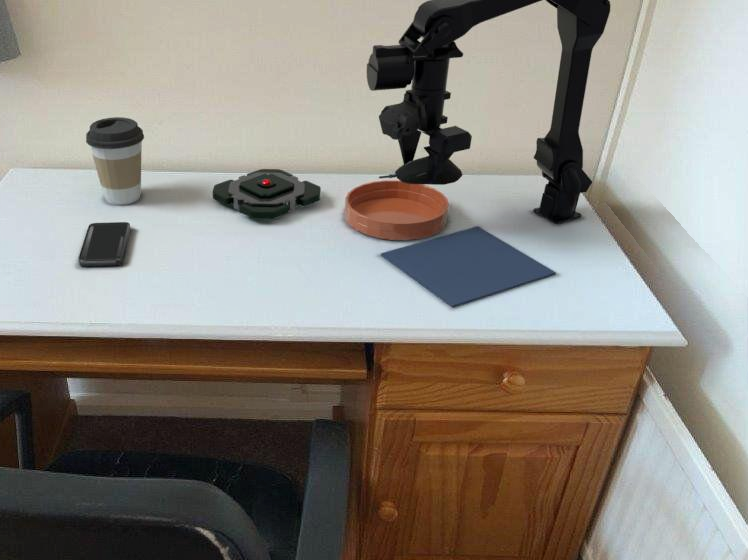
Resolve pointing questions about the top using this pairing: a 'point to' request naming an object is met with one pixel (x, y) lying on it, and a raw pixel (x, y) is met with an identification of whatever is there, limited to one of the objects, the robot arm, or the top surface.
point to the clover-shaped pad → (266, 193)
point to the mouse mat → (466, 265)
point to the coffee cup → (117, 158)
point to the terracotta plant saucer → (396, 210)
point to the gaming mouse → (426, 173)
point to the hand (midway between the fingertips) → (419, 174)
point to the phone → (105, 244)
